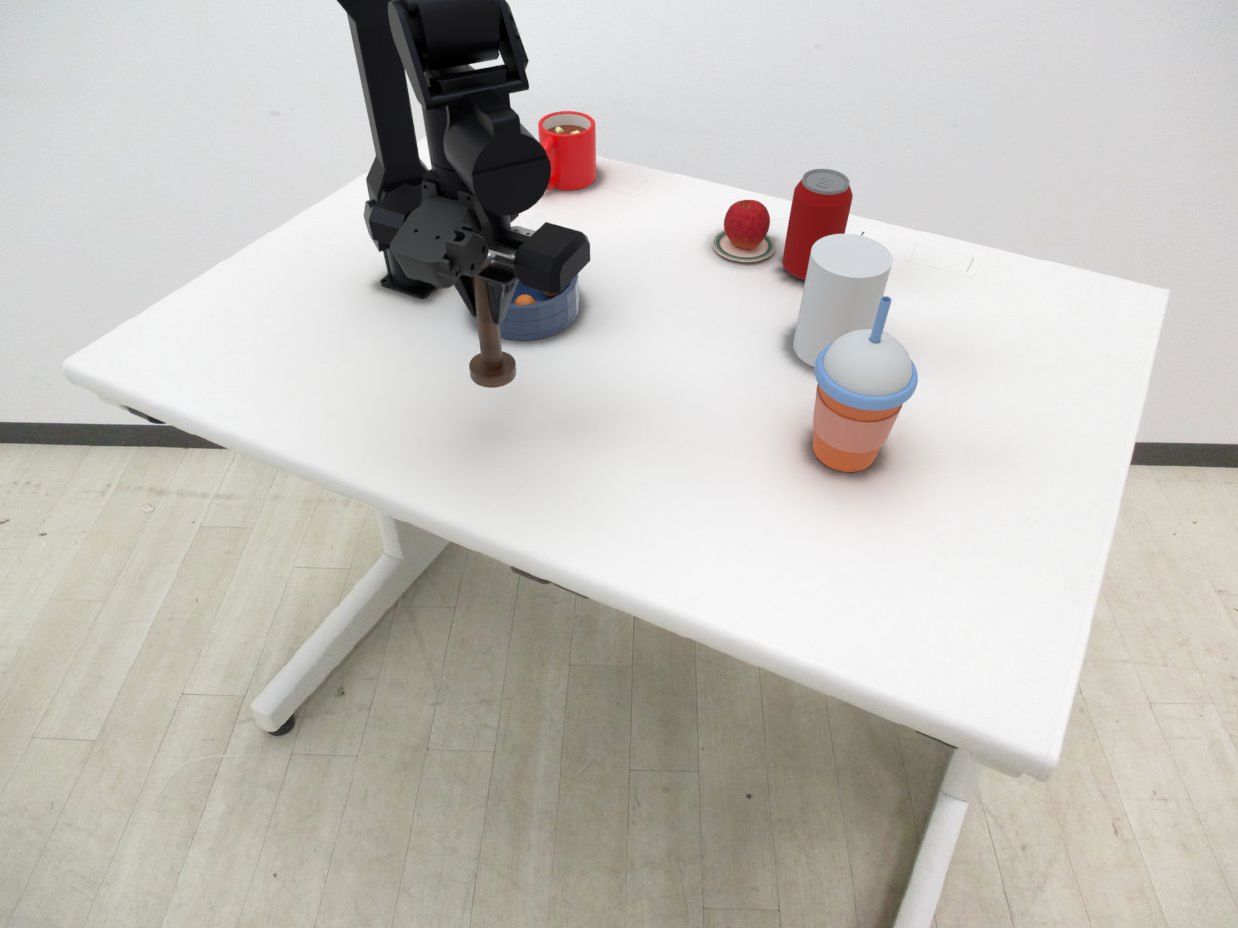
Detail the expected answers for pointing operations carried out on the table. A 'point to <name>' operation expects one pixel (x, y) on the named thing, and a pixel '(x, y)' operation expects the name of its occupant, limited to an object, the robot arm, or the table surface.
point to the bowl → (540, 313)
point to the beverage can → (815, 216)
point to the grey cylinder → (840, 291)
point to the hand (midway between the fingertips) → (488, 318)
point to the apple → (745, 233)
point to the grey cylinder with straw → (860, 394)
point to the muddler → (489, 342)
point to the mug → (569, 149)
